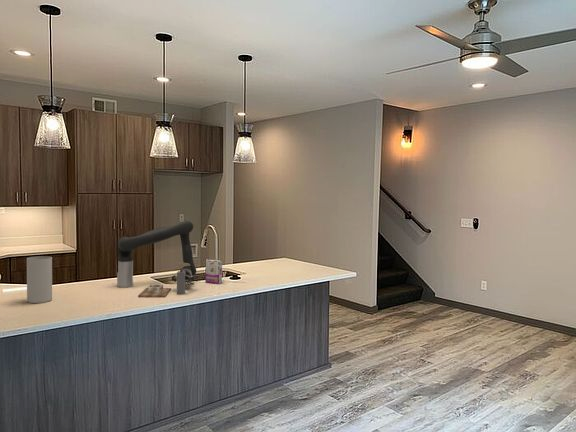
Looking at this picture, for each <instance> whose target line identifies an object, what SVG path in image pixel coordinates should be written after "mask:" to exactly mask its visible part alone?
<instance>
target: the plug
mask: <svg viewBox="0 0 576 432" xmlns="http://www.w3.org/2000/svg"><path fill="white" fill-rule="evenodd" d="M182 267H183V266H180V267H179V270H177V272H176V276H177V281H176V295H185V294H186V282H185V271H182Z"/></svg>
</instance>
